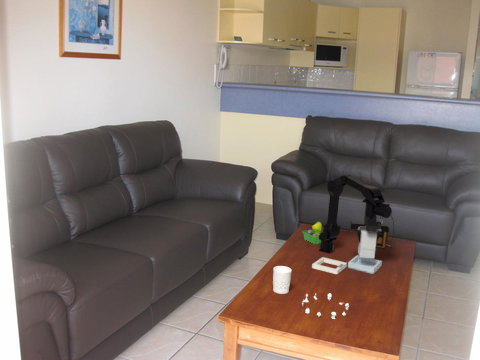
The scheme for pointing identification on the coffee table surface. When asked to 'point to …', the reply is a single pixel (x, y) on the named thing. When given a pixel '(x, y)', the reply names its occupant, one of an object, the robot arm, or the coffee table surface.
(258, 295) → the coffee table surface
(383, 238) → the multimeter
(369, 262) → the tray
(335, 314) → the game piece set
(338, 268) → the frame
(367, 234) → the supplement box
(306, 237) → the fruit basket
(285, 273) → the white cup
